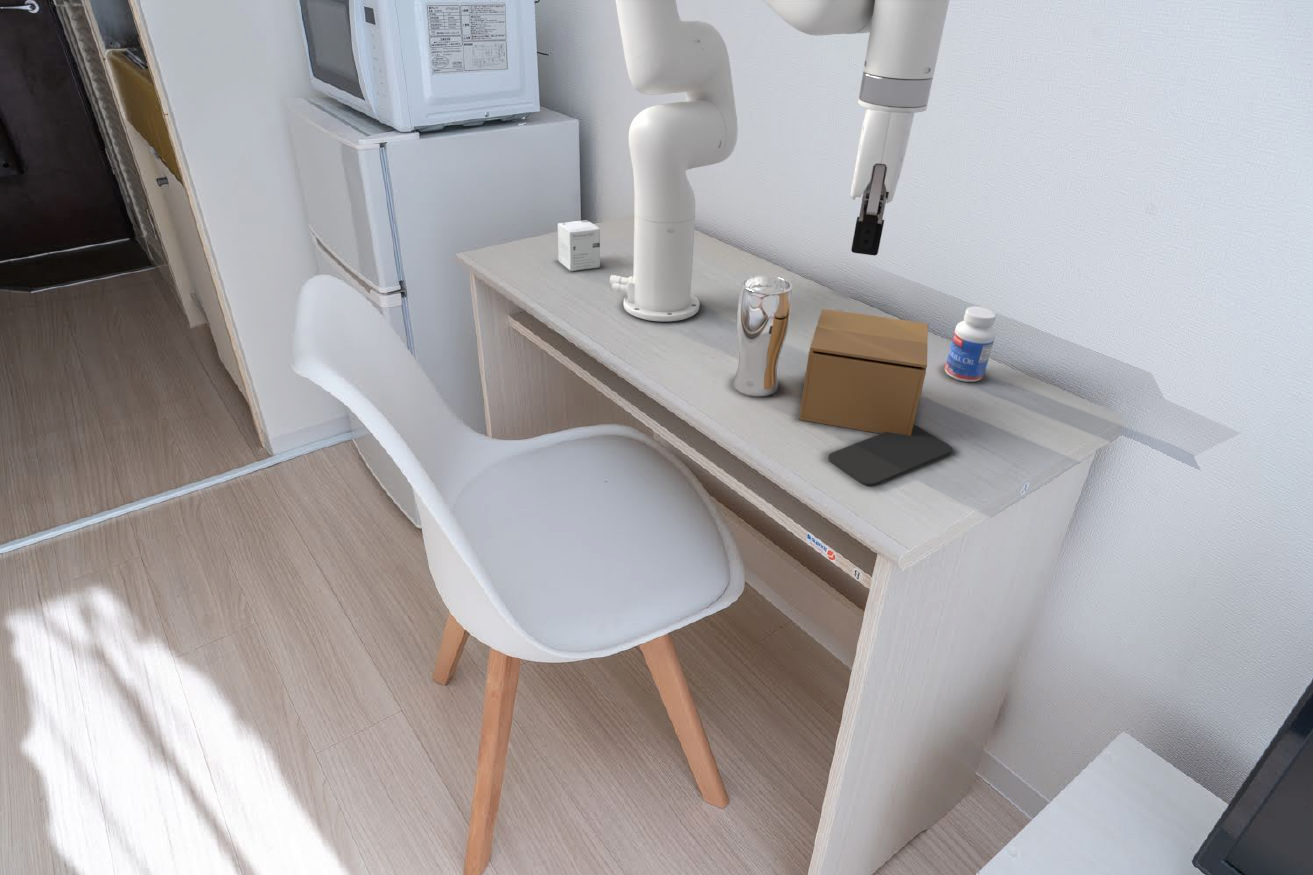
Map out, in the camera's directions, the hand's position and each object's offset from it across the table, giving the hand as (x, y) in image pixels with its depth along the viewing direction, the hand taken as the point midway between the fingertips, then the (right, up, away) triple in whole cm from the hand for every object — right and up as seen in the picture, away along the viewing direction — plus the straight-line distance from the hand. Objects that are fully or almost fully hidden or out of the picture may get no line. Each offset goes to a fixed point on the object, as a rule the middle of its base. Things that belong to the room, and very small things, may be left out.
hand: (864, 251), depth 99 cm
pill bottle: (+19, -14, +17) cm, 29 cm away
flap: (+3, -9, +6) cm, 11 cm away
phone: (+3, -25, -1) cm, 26 cm away
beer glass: (-12, -16, +12) cm, 23 cm away
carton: (+1, -19, +9) cm, 21 cm away
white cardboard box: (-40, +9, +51) cm, 65 cm away
